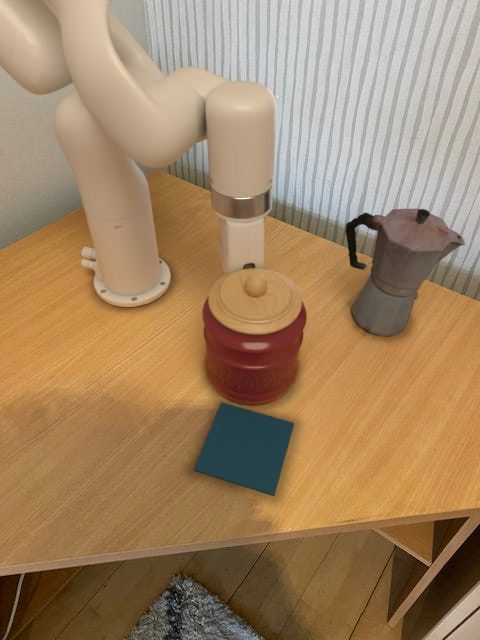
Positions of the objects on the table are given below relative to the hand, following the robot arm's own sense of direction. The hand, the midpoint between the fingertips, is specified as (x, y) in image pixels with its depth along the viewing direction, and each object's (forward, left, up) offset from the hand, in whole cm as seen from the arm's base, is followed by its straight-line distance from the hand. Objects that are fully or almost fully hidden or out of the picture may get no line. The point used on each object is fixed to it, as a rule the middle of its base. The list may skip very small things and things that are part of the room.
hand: (243, 303), depth 71 cm
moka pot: (+20, +8, -4) cm, 22 cm away
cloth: (+7, -20, -4) cm, 22 cm away
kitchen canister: (+4, -8, -4) cm, 10 cm away
